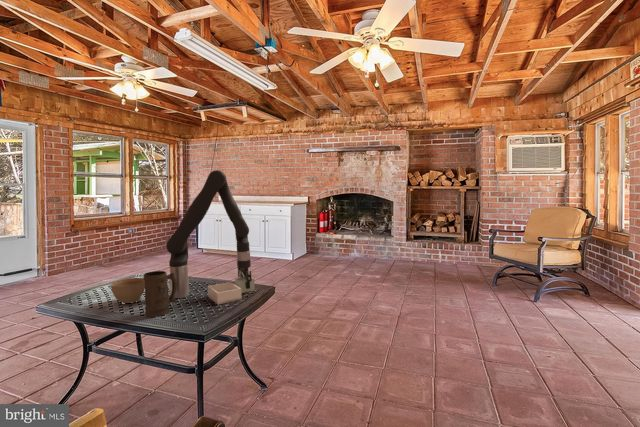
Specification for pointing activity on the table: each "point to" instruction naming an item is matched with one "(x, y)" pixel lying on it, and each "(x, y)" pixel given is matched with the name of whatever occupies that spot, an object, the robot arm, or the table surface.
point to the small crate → (244, 284)
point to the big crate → (224, 293)
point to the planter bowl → (128, 289)
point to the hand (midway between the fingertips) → (245, 286)
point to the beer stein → (158, 293)
